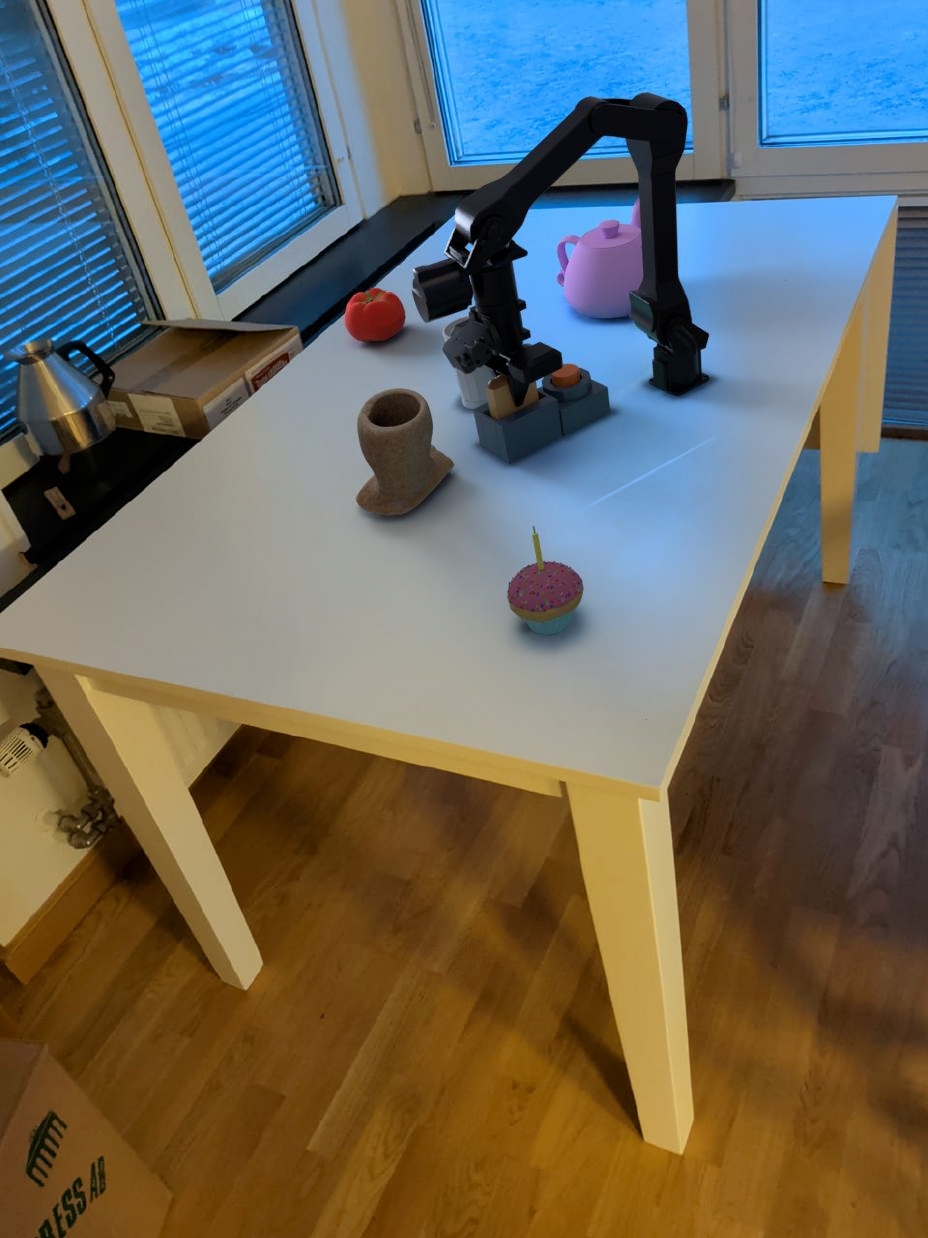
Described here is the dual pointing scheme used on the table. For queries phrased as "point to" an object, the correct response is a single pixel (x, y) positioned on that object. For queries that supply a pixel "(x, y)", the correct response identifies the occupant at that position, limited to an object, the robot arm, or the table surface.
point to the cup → (470, 376)
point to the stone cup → (398, 452)
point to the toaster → (519, 428)
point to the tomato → (374, 315)
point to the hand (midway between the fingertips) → (514, 403)
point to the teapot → (603, 267)
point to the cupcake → (545, 593)
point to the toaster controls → (578, 401)
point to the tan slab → (506, 397)
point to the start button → (566, 376)
